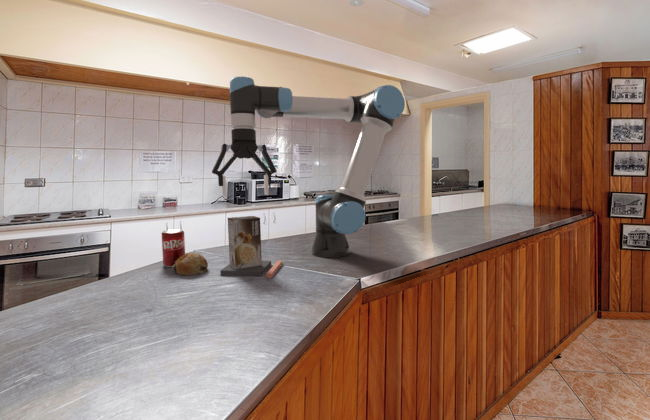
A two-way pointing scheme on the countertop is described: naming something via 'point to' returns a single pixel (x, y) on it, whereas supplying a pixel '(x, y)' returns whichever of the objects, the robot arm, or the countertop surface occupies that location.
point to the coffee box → (244, 242)
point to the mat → (246, 270)
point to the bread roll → (190, 264)
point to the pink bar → (273, 269)
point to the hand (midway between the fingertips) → (246, 195)
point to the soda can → (172, 246)
